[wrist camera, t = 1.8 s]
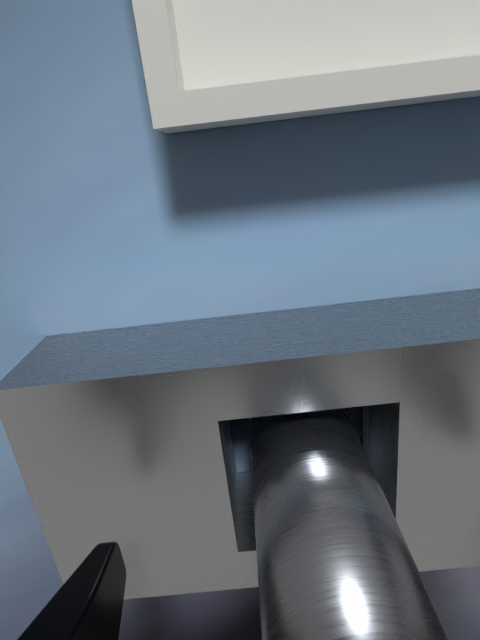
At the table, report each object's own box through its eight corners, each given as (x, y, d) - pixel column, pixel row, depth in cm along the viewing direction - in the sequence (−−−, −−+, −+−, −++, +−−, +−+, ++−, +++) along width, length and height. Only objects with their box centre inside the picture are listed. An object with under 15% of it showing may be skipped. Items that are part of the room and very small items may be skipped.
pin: (342, 366, 13) (556, 778, 4) (343, 447, 14) (517, 903, 5) (242, 376, 13) (265, 803, 4) (252, 456, 14) (284, 920, 5)
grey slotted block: (645, 270, 12) (775, 307, 9) (595, 470, 14) (683, 546, 12) (45, 336, 12) (-10, 391, 9) (101, 518, 15) (71, 604, 12)
